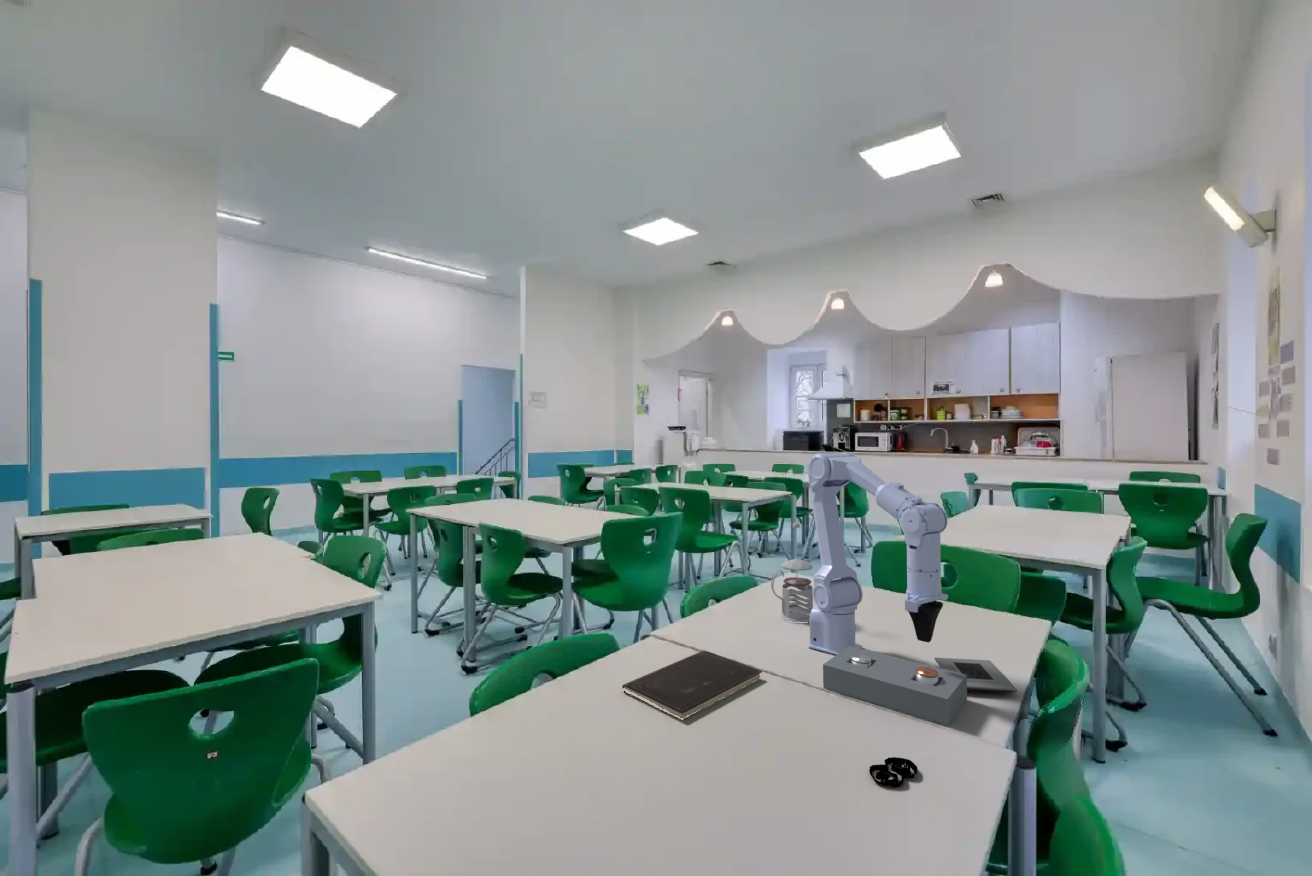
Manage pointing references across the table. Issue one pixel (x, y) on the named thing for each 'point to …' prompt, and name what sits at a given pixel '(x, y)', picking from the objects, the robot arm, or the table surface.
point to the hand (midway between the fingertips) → (924, 640)
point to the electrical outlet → (978, 674)
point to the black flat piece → (901, 771)
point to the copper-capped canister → (927, 675)
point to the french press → (793, 609)
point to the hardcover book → (693, 682)
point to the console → (896, 685)
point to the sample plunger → (861, 660)
